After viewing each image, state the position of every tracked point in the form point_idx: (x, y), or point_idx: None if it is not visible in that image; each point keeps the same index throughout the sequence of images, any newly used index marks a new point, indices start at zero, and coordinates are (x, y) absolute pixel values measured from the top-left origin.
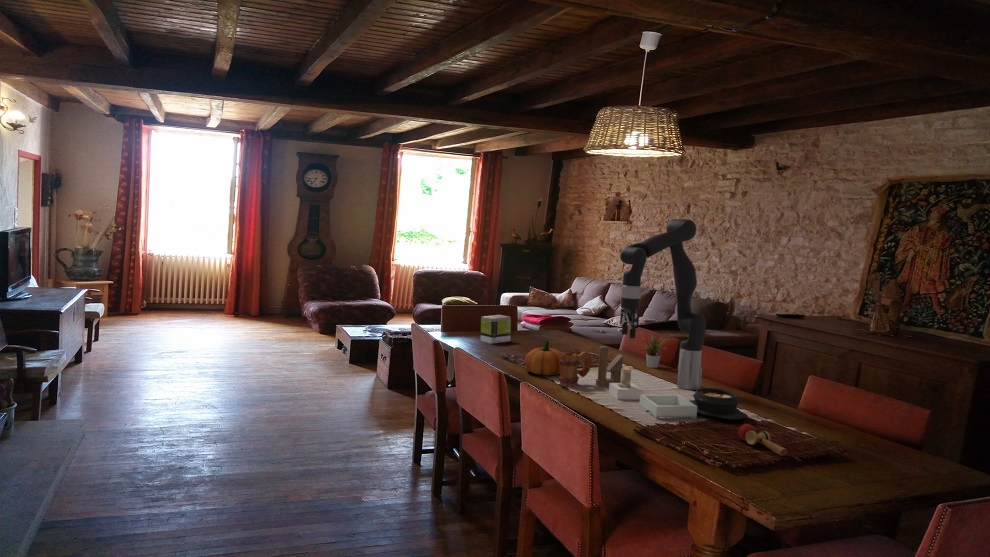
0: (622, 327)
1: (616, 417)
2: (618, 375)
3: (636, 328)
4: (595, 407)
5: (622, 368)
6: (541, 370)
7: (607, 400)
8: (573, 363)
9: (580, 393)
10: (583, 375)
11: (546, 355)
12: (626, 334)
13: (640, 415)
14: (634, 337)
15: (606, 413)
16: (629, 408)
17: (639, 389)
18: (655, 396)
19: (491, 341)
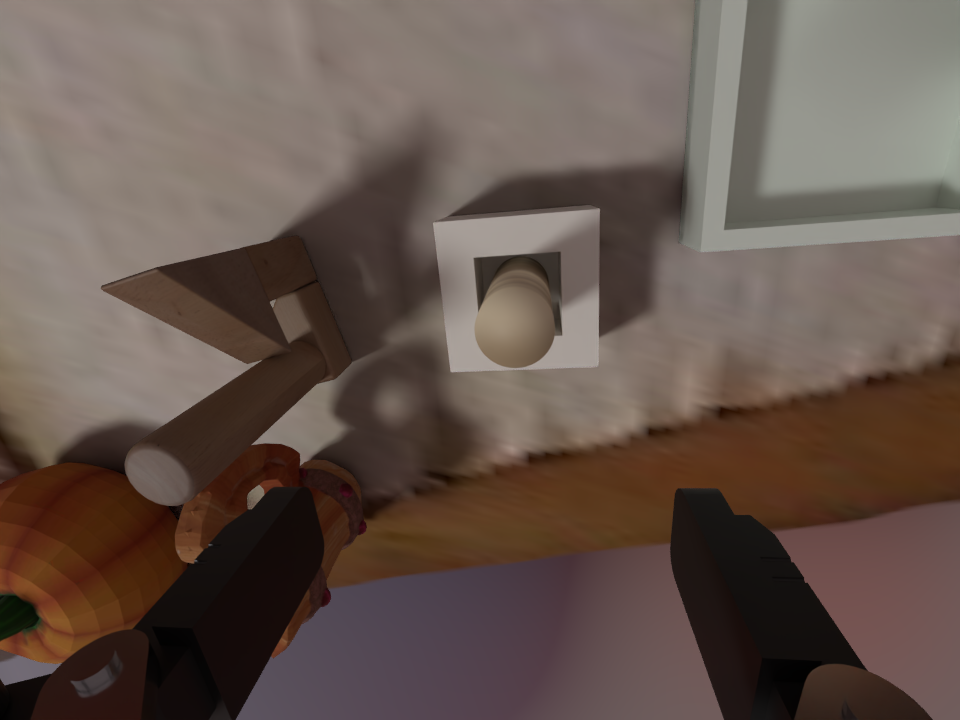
0: (245, 675)
1: (861, 423)
2: (272, 269)
3: (908, 699)
4: (683, 467)
5: (487, 352)
6: None
7: (566, 382)
8: (315, 576)
9: (449, 469)
10: (293, 458)
11: (104, 618)
12: (309, 493)
13: (857, 295)
14: (717, 502)
15: (787, 448)
16: (719, 314)
17: (599, 224)
18: (730, 142)
19: None
